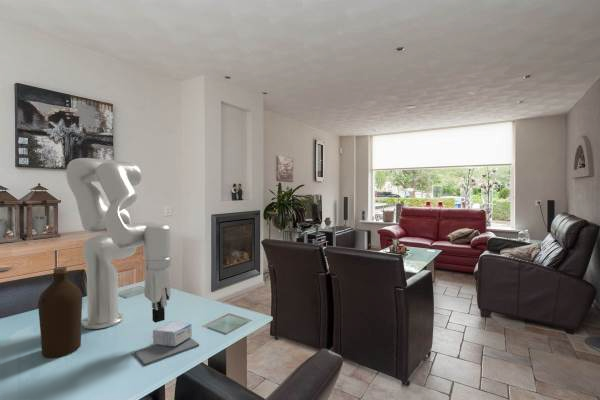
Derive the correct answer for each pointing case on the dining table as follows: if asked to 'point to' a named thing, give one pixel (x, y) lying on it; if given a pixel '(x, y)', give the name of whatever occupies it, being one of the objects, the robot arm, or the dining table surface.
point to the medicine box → (172, 333)
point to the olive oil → (60, 316)
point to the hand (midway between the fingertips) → (158, 320)
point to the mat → (163, 351)
